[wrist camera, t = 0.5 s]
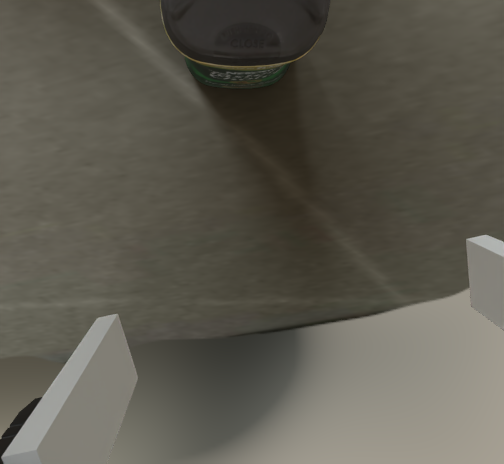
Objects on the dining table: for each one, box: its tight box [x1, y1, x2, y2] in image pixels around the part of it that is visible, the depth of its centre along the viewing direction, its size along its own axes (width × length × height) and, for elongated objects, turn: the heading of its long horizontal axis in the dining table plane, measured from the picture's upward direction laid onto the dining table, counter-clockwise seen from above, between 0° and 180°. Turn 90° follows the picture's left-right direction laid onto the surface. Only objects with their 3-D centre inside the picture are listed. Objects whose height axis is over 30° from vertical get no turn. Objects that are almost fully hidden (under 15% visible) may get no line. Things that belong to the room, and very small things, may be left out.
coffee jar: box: [160, 0, 330, 89], centre depth 29 cm, size 10×8×19 cm
